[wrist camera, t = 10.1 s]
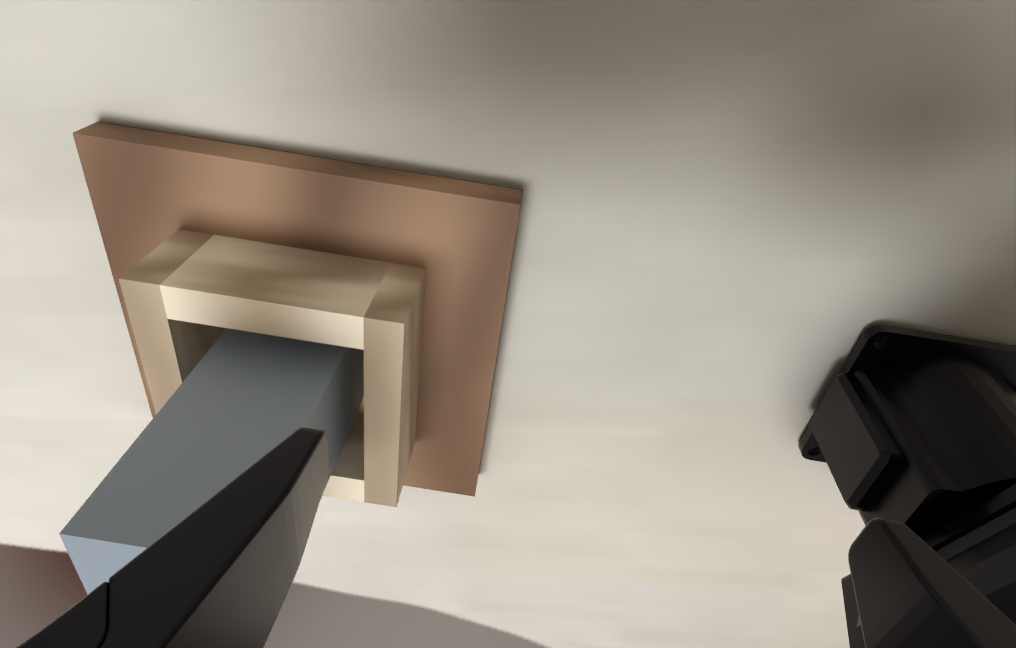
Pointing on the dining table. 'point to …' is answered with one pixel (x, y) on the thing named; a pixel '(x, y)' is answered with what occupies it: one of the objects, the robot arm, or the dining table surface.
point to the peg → (214, 440)
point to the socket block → (315, 284)
